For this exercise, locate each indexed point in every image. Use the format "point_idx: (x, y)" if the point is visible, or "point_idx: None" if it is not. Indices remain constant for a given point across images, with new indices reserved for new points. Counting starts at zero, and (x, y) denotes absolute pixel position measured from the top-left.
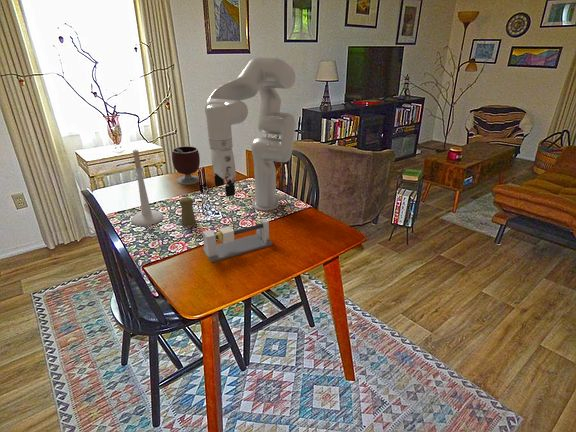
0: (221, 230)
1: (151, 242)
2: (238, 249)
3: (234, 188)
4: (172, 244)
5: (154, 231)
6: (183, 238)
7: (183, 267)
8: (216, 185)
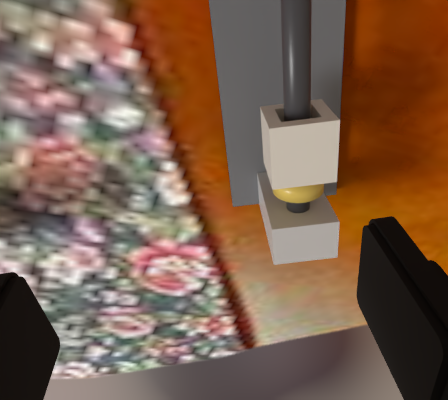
0: (298, 181)
1: (113, 331)
2: (316, 67)
3: (440, 281)
4: (148, 282)
5: None
6: (112, 248)
7: (312, 269)
8: (55, 353)
